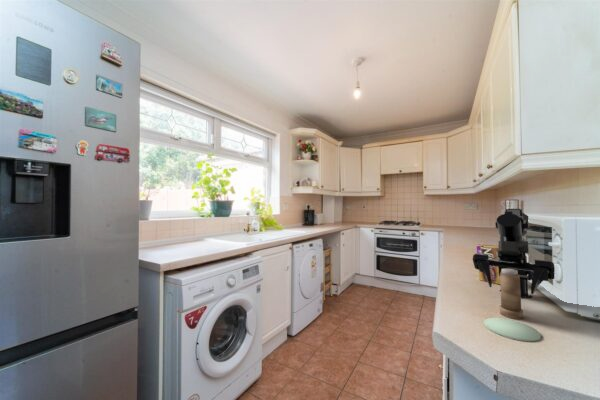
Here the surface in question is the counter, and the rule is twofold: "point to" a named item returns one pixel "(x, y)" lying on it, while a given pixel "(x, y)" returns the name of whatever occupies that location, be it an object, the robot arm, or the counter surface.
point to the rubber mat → (512, 329)
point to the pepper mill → (510, 294)
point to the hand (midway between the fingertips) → (510, 289)
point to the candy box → (492, 254)
